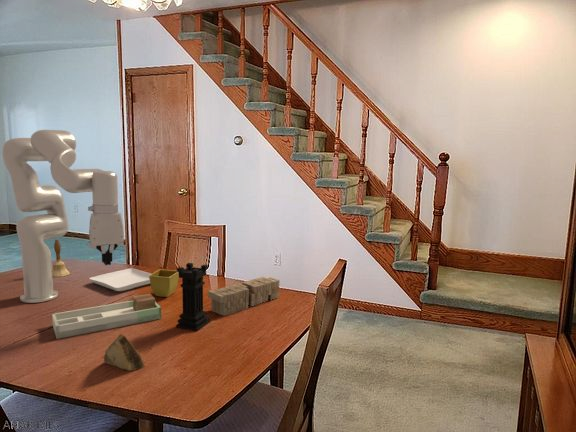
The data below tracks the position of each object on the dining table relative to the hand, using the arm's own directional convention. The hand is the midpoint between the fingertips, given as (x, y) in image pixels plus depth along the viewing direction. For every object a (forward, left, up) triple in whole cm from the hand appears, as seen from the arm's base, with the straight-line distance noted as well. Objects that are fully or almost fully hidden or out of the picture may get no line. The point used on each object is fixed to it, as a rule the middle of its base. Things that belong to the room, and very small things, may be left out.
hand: (107, 263), depth 146 cm
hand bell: (-64, -8, -20) cm, 68 cm away
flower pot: (-15, +24, -20) cm, 35 cm away
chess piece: (+18, +23, -20) cm, 35 cm away
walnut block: (+2, +11, -18) cm, 21 cm away
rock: (+34, -3, -20) cm, 39 cm away
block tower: (+9, +47, -20) cm, 52 cm away
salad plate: (-37, +14, -20) cm, 45 cm away
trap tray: (+2, -1, -20) cm, 20 cm away
